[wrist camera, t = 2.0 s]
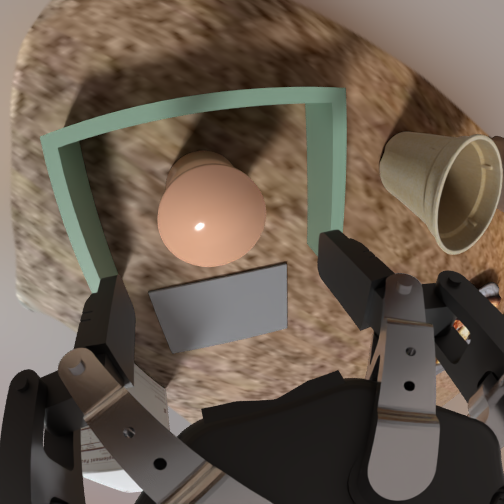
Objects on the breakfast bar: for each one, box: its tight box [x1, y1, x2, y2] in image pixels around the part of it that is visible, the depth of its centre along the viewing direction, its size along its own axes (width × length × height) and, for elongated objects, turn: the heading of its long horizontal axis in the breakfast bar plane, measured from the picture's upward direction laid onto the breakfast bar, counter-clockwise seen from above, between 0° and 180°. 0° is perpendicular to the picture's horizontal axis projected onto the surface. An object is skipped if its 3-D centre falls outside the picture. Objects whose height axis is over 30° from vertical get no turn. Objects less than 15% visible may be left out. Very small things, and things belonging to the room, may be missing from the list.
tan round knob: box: [158, 150, 266, 267], centre depth 18 cm, size 6×6×6 cm
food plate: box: [435, 282, 501, 375], centre depth 43 cm, size 25×23×4 cm
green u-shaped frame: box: [40, 87, 347, 293], centre depth 19 cm, size 18×13×4 cm
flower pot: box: [380, 131, 503, 254], centre depth 20 cm, size 9×9×9 cm
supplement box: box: [81, 364, 170, 492], centre depth 23 cm, size 7×7×13 cm
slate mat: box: [148, 263, 287, 354], centre depth 27 cm, size 12×8×1 cm, turn 95°
